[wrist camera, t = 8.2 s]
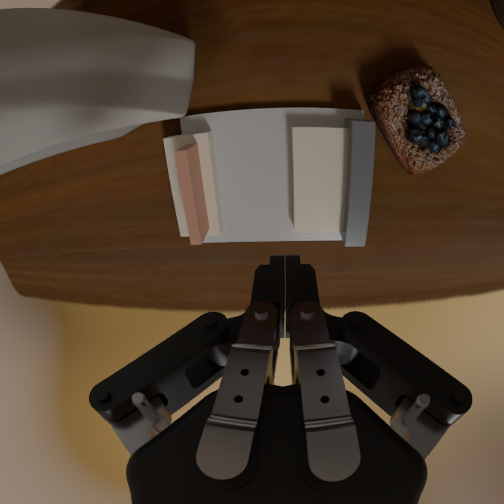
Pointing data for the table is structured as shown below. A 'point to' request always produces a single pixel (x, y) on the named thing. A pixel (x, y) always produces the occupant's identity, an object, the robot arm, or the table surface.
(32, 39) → the vase
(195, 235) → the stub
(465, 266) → the table surface
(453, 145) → the pastry
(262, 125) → the white tray
